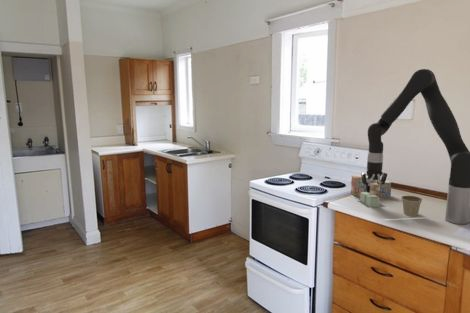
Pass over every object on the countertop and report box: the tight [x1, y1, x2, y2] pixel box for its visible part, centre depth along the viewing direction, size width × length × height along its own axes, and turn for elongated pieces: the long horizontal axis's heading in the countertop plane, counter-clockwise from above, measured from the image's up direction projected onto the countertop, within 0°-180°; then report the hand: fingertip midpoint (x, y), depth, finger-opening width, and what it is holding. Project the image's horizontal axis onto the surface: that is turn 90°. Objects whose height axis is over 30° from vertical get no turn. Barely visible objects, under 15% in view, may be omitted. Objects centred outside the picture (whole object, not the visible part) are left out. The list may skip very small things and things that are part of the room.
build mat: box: [357, 200, 386, 209], centre depth 184 cm, size 10×12×1 cm
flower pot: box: [400, 195, 423, 217], centre depth 167 cm, size 9×9×9 cm
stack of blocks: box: [350, 174, 392, 198], centre depth 200 cm, size 21×6×12 cm, turn 84°
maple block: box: [366, 183, 380, 195], centre depth 179 cm, size 5×5×5 cm
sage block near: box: [366, 195, 381, 208], centre depth 181 cm, size 5×5×5 cm
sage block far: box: [359, 192, 371, 203], centre depth 187 cm, size 5×5×5 cm
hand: (373, 191), depth 180 cm, fingers closed on maple block, 5 cm apart
